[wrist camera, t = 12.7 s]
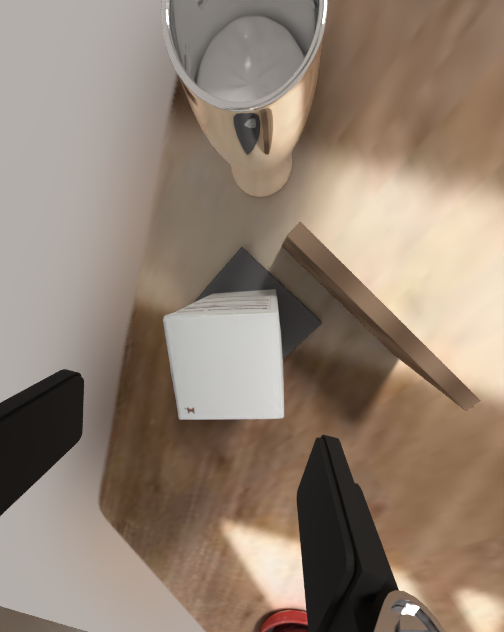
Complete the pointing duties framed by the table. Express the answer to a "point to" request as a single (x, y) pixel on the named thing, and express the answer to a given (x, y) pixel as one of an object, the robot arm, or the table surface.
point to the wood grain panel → (374, 314)
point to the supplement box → (227, 357)
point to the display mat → (254, 277)
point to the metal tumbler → (248, 78)
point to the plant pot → (286, 622)
